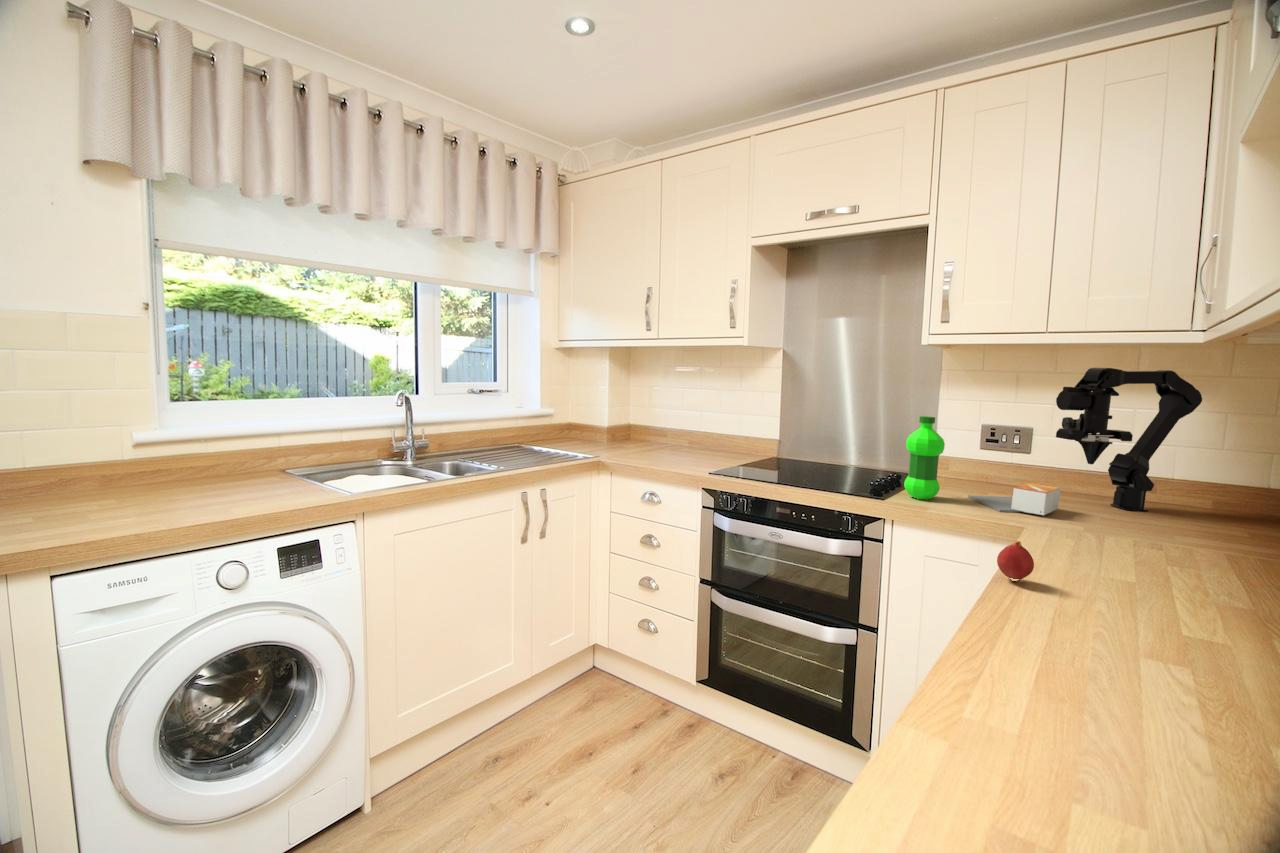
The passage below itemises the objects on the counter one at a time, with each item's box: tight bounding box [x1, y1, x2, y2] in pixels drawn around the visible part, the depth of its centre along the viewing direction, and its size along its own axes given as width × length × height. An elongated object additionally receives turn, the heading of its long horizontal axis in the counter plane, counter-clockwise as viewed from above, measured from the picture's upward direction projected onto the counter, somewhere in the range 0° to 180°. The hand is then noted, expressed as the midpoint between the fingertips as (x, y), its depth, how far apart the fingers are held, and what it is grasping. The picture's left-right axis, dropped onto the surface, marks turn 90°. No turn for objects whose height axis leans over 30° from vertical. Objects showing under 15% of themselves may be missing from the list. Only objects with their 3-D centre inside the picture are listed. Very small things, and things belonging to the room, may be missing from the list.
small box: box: [1011, 482, 1061, 516], centre depth 166 cm, size 8×6×13 cm
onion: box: [996, 540, 1035, 580], centre depth 110 cm, size 6×6×8 cm
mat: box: [967, 494, 1052, 515], centre depth 173 cm, size 14×18×1 cm
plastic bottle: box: [903, 415, 945, 500], centre depth 178 cm, size 10×10×25 cm
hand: (1090, 464), depth 171 cm, fingers closed
